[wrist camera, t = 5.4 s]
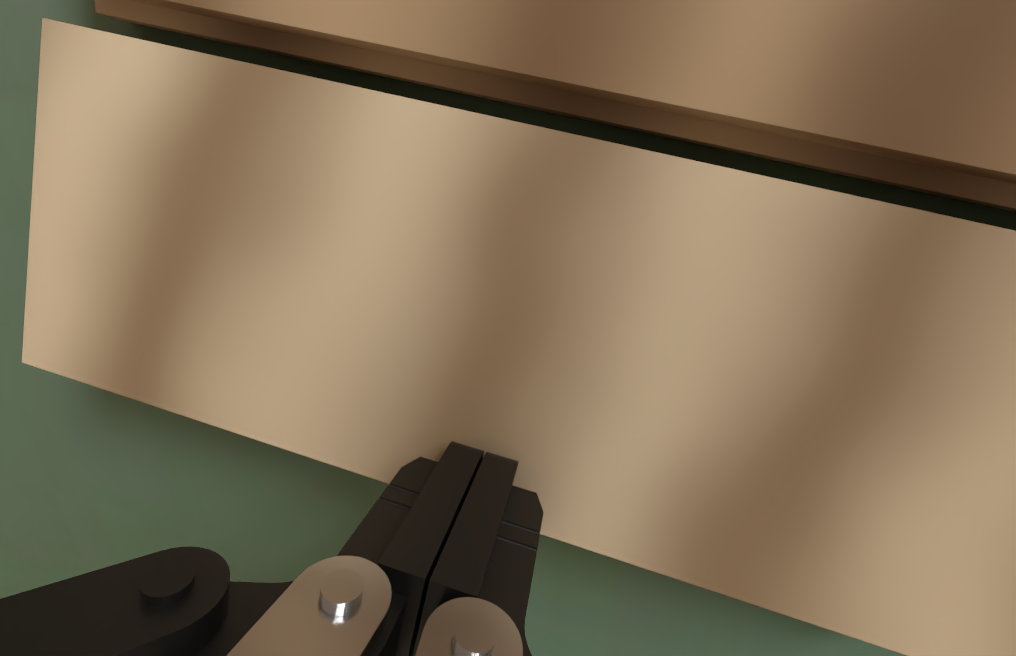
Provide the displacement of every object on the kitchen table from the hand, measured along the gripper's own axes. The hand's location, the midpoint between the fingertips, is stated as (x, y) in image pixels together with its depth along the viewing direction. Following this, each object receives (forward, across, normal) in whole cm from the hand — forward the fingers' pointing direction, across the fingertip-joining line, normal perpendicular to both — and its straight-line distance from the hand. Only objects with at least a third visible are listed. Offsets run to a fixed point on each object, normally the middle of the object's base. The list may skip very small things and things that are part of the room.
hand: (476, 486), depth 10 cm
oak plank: (+2, 0, -3) cm, 4 cm away
